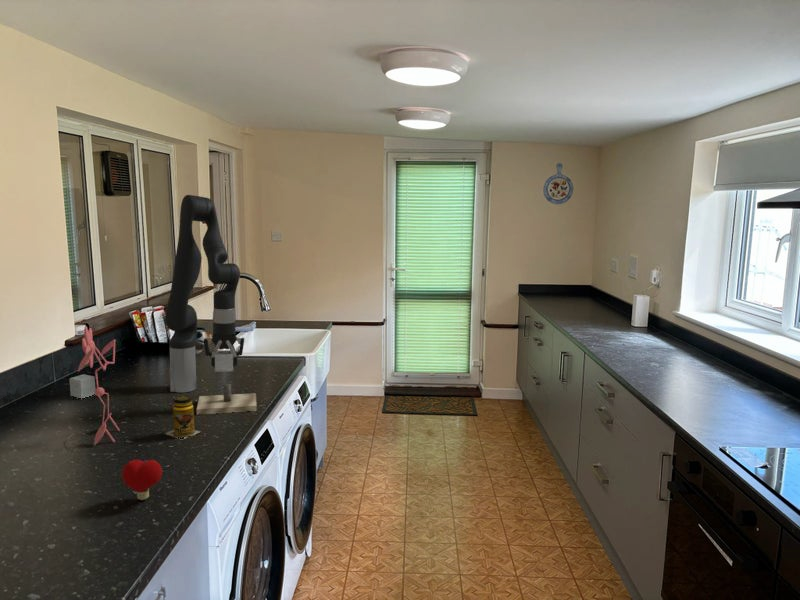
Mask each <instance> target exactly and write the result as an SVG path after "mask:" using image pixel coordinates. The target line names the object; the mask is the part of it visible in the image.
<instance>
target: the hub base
mask: <svg viewBox="0 0 800 600" xmlns="http://www.w3.org/2000/svg"><path fill="white" fill-rule="evenodd" d="M222 390H223V394H216V395H200V396H199V398H198V402H197V406H196V416H199V414H200V416H201V414H202V415H216V413H218V414H230V413H232V412H234V413H248V412H247V411H250V412H257V407H258V405H257V394H256V393H257V392H256V393H255V392H253V393H236V394H232V384H231V383H224V384H223V389H222Z"/></svg>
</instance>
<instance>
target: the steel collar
mask: <svg viewBox="0 0 800 600" xmlns="http://www.w3.org/2000/svg"><path fill="white" fill-rule="evenodd" d="M233 371H234V367H233V353H232V352H231V351H230V349H225V350H224V349H219V350H218V351H217V353H216V354H215V368H214V372H215V373H216V372H233Z"/></svg>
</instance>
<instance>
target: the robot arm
mask: <svg viewBox="0 0 800 600" xmlns="http://www.w3.org/2000/svg"><path fill="white" fill-rule="evenodd" d="M218 221H219V220H218V215H217V210H216V206H215V203H214V201H213V200H212V199H211V198H209V197H205V196H198V195H192V194H186V195H184V196H183V198H182V199H181V205H180V213H179V227H178V240H177V247H176V251H175V252H176V253H175V258H174V264H173V275H172V280H171V286H170V287H171V289H170V294H169V298H168V301H167V306H166V308H165V309H166V310H165V314H164V323H165V325H166V327H167V328H168V329H169V330H170V331H172V332H173V334H172V336H171V338H170V339H169V363H170V365H169V387H170V388H169V389H170V391H169V392H170V393H174V392H175V393H188V392H192V391H195V390H196V389H197V368H196V367H197V366H196V365H197V363H196V359H197V358H196V354H195V340H196V338H197V330H198V315H197V311H196V309H195V308H194V307H193V306H192V305H190V304H189V299H190V296H191V293H192V291H193V289H194V287H195V284H196V282H197V280H198V279H199V275H200V272H201V266H202V265H201V264H202V260H203V259H202V254H201V251H200V249H199V246H198V245H197V244H198V243H197V242H196V240H195V238H194V234H193V222H201V223H205V225H206V227H207V229H206V231H205V233H204V235H203V237H202V238H203V239H202V248H203V251H204V254H205V257H206V260H207V268H208V270H207V278H208V280H209V281H210V282H211V283H212V284H213V285H225V286H224V288H222V289H220V290H217V291H215V292H214V293H213V312H212V338H205V339H204V347H205V348H204V352H205V356H207V357H210V358H211V367H213V368H214V369H215V354H216V353H217V351H219V350H224V349H225V350H230V351H231V352H232V353H233V368H235V367H236V366H238V357H239V356H242V355H243V351H244V345H245V337H237V335H236V307H235V305H236V304H235V303H236V302H235V300H236V292H237V289H238V285H239V282H240V278H241V270H240V268H239V266H238V265H237V264H236V263H232V262H231V263H230V262H229V263H227V261H228V258H229V254H228V252H227V249H226V246H225V244H224V241H223V239H222V235H221V231H220V226H219V224H220V223H219V222H218ZM211 342H212V343H213V344H214V345H215V346H214V348H213V350H212V351H211V350H210V345H211ZM236 342H237V344H239V349H238V350H239V351H237V350H236V348H235V346H234V345H235V343H236Z"/></svg>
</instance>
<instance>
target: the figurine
mask: <svg viewBox="0 0 800 600" xmlns="http://www.w3.org/2000/svg"><path fill="white" fill-rule="evenodd" d="M83 331H84V333H83V334H84V336H83V338H81V345H82V346H81V348H82V351H83V353H85V354H84V356H83V358H82V360H81V361H80V363H79V366H78V368H77V372H78V373H79V372H80V371H81V370H82V369H84V367H85V366H86V365H88V364H89V367H90V369H92V368H93V366H94V357H95V358H96V360H97V361H98V362H99V363H98V364H99V365H100V367H99V368H97V369H95V371H94V375H95V376H94V377H95V385H96V387H95V395H94V396H97V397H98V398H99V400H100V402H101V403H102V404H103V412H102V424H101V425H100V427H99V428H98V429H97V432H96V434H95V438H94V441H93V442H94V443H93V445H94V446H96V445H97V444H98V443H99V442H100V441H101V440H102V438H103V436H104V434H105V433H106V434H107V435H108V437H109V438H110V439H111V441H112V443H115V442H116V440H115V439H114V438H113V436H112V435H111V433H110V432H109V431H108V429H107V423H106V422H107V421H108V420H110V421H111V422H112V424H113V426H114V427H115V428H116V430H117V431H118V432H120V428H119V427H118V425H117V423H116V422H115V420H114V419H113V418H112V417H111V416H112V415H113V413H112V412H110V406H109V405H110V399H109V398H110V395H109V392H105V391H106V390H105V389H104V388H103V387H101V386H100V387H99V380H98V372H99V371H100V370H101V369H102V370H103V372H105V371H106V369H107V366H108V365H110V364H111V365H115V361H116V360H115V358H116V341H117V339H112V341H110V342H108V343H107V344H105V346H104V347H103V348H102V350H101V352H100V350H99V349H98V347H97V346H96V344H95V342H94V340H93V339H94V338H93V330H92V327H89V328H88V326H87V325H86V326H84V330H83ZM111 349H112V361H107V359H106V358H105V357H104V355H105V354H106V353H107V352H109V351H110V350H111ZM98 354H99V356H100V358H101V359H102V360H103V361H104V364H103V363H102V361H101V359H100V358H99V356H98ZM104 394H105V395H107V396H106V397H107V401H106V402H107V415H106V418H105V413H106V412H105V411H106V403H105V402H104V401H103V399H102V398H101V397H102V396H103V395H104ZM123 423H124V424H126V422H123V421H122V424H123ZM72 436H75V433H72V435H70V436H69V437H68V439H70V437H72ZM64 449H65V450H66V449H68V450H70V451H71V452H72V451H73V452H75V453H76V452H77V451H76V450H73V449H70V448H68V447H66V446H65V447H64Z"/></svg>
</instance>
